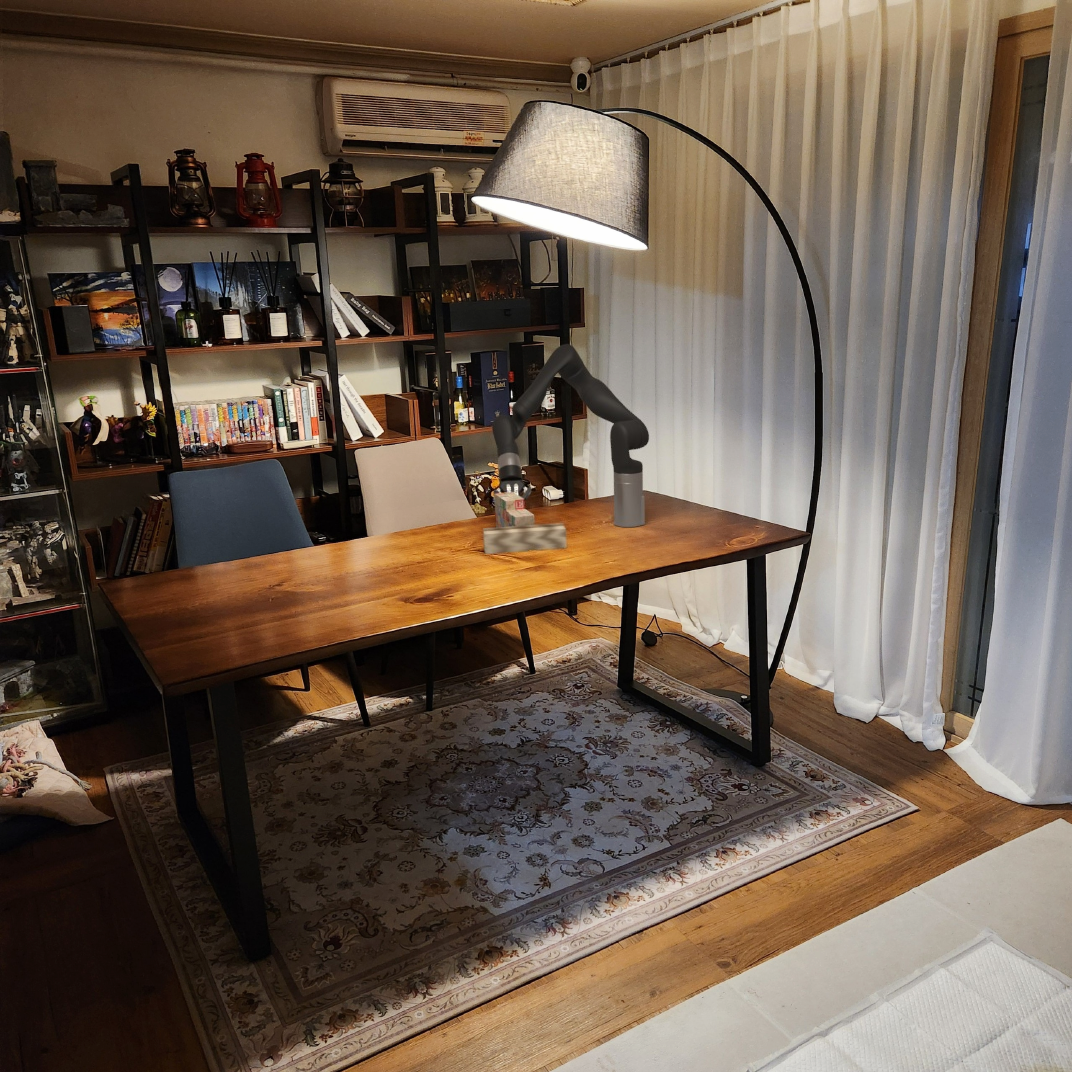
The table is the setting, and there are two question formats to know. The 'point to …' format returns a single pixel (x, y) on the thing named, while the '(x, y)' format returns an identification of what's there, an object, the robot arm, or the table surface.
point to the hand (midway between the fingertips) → (514, 515)
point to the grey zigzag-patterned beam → (524, 538)
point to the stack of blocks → (511, 510)
